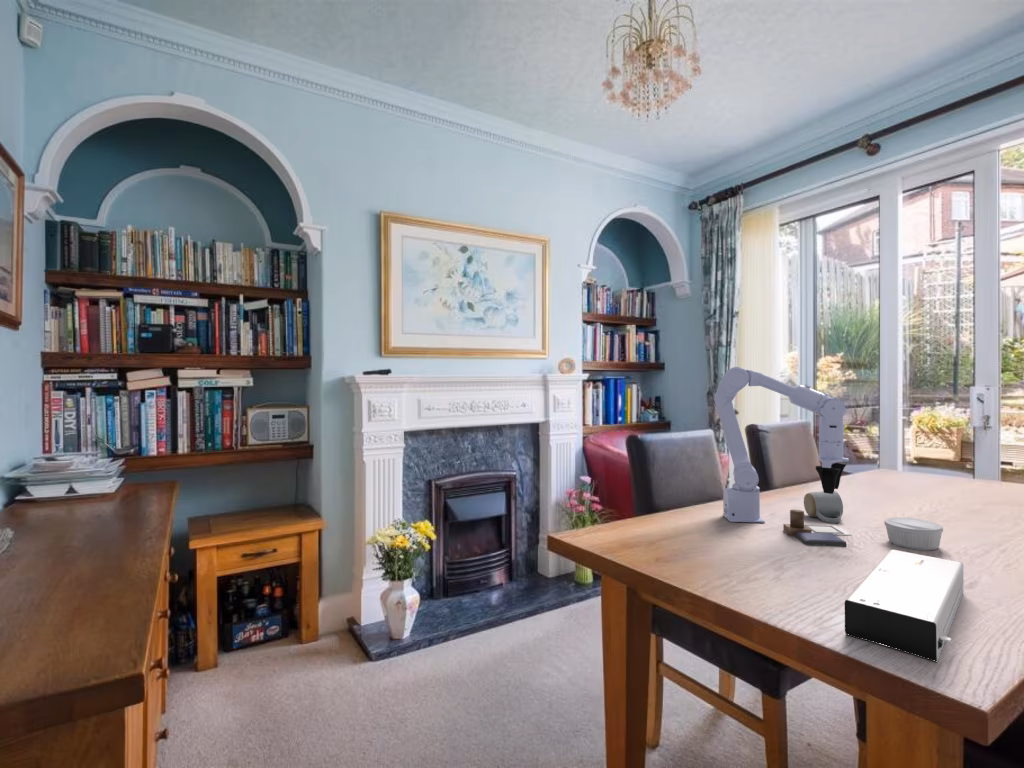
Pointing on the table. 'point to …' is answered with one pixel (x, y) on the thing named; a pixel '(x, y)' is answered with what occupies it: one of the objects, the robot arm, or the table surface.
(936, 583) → the white and black box
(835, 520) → the ceramic mug
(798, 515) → the stamp
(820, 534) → the ink pad
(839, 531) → the paper
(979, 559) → the table surface
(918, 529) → the ramekin
